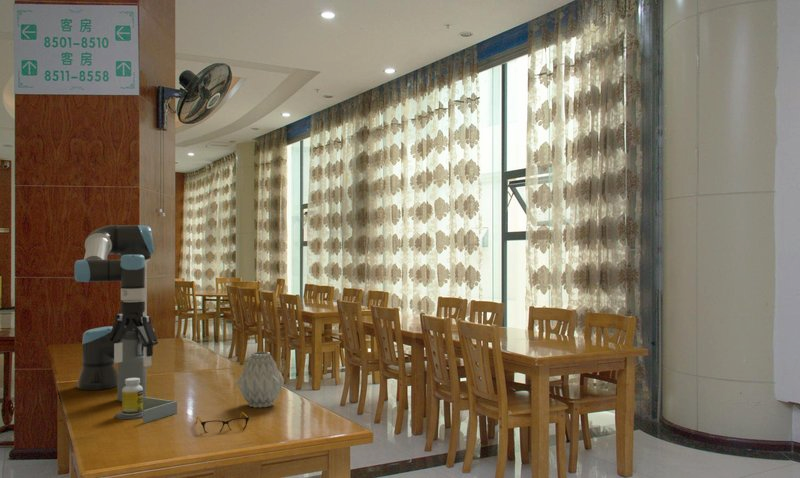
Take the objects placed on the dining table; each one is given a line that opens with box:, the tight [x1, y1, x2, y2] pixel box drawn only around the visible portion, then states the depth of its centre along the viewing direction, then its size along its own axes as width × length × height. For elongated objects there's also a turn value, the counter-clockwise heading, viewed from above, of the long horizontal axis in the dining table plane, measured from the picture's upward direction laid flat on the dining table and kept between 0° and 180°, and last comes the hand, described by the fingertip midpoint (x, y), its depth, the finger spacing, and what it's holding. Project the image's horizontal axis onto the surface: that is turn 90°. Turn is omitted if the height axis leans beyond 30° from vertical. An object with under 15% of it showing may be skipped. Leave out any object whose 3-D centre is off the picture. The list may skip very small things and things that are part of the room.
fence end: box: [142, 400, 178, 424], centre depth 223 cm, size 1×14×4 cm, turn 153°
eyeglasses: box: [195, 411, 250, 434], centre depth 214 cm, size 14×14×4 cm
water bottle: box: [117, 328, 147, 403], centre depth 249 cm, size 10×10×28 cm
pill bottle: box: [121, 378, 144, 416], centre depth 226 cm, size 6×6×12 cm
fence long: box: [143, 396, 174, 410], centre depth 233 cm, size 19×1×4 cm, turn 64°
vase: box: [236, 351, 285, 409], centre depth 240 cm, size 16×16×18 cm
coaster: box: [114, 411, 143, 420], centre depth 226 cm, size 11×11×1 cm
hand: (132, 364), depth 226 cm, fingers open, 13 cm apart
